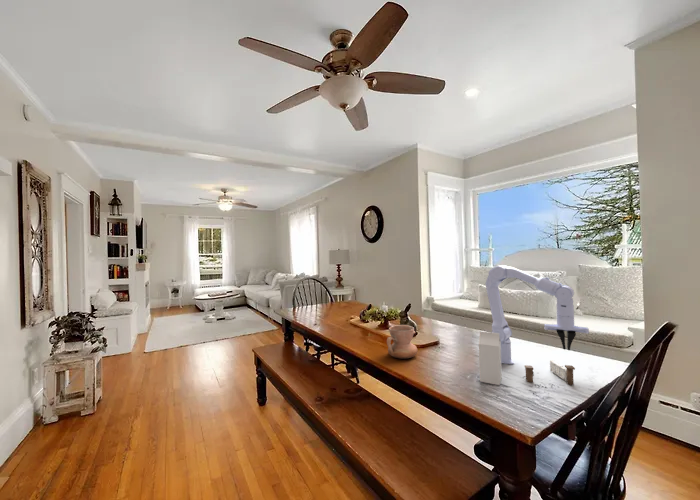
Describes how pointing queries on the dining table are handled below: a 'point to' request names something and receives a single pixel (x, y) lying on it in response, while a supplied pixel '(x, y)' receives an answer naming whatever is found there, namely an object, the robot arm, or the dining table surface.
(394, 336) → the ceramic jug
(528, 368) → the post
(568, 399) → the dining table surface
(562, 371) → the gate
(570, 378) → the hinge post
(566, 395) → the dining table surface
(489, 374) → the milk carton
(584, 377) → the dining table surface
